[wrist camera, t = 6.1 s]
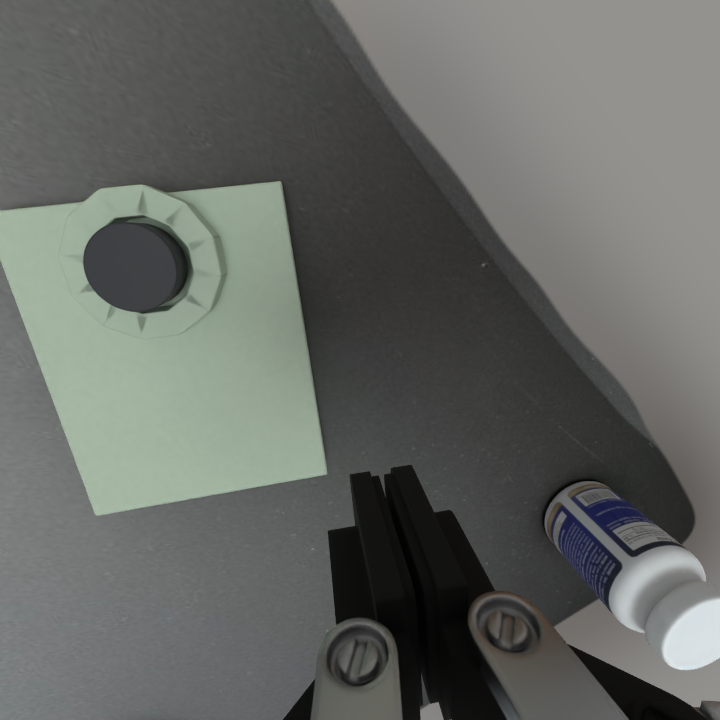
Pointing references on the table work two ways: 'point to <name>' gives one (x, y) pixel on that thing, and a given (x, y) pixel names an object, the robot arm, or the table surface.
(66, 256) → the scale
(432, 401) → the table surface
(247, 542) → the table surface
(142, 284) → the button
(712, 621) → the pill bottle
